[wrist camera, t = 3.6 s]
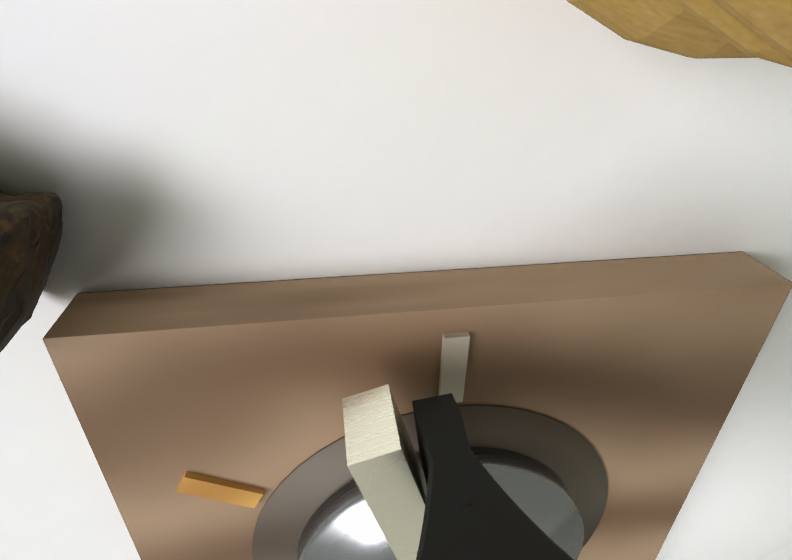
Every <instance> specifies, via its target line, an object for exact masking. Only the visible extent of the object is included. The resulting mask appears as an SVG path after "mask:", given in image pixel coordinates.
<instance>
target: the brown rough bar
mask: <svg viewBox="0 0 792 560" xmlns="http://www.w3.org/2000/svg"><path fill="white" fill-rule="evenodd" d="M61 233H62V204H61V201H60V199H59V197H58V196H57V195H56V194H54V193H51V192H34V193H28V194H24V195H20V196H16V197H14V196H10V195H6V194H4V193H3V192H2V191H1V189H0V352H1V351H2V350H3V349H4V348H5V346H6V345H7V344H8V343H9V341H10V340H11V339H12V338H13V336H14V335H15V334H16V333H17V331H18V330H19V329H20V328H21V326H22V325H23V324H24V323H26V322H27V321H28V320H29V319H30V318H31V316H32V313H33V311H34V309H35V307H36V305H37V303H38V300H39V298H40V296H41V293H42V291H43V289H44V287H45V285H46V281H47V277H48V275H49V272H50V270H51V267H52V265H53V262H54V259H55V256H56V253H57V250H58V247H59V242H60V238H61Z"/></svg>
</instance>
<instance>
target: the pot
mask: <svg viewBox="0 0 792 560" xmlns="http://www.w3.org/2000/svg"><path fill="white" fill-rule="evenodd" d="M567 1H568V2H570V3H571V4H573V5H574V6H576V7H577V8H579V9H580V10H582V11H583V12H585V13H586V14H588V15H589V16H591V17H592V18H594V19H595V20H597V21H598V22H600V23H601V24H603V25H604V26H606V27H607V28H609V29H610V30H612V31H613V32H615V33H616V34H618V35H619V36H621V37H622V38H624V39H626V40H629V41H633V42H636V43H640V44H644V45H647V46H651V47H654V48H658V49H661V50H665V51H669V52H672V53H676V54H679V55H683V56H687V57H691V58H757V57H758V58H761V59H765V60H768V61H771V62H775V63H778V64H782V65H785V66H789V67H792V0H567Z"/></svg>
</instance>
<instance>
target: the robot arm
mask: <svg viewBox="0 0 792 560" xmlns="http://www.w3.org/2000/svg"><path fill="white" fill-rule="evenodd" d="M412 405H413V412H414V419H415V425H416V432H417V438H418V445H419V452H420V457H421V462H422V466H423V471H424V476H425V480H426V485H427V494H426V504H425V511H424V518H423V524H422V530H421V536H420V542H419V547H418V552H417V557H416V560H574V559H573V558H572V557H570V556H569V555H568V554H567V553H566V552H565V551H564V550H563V549H561V548H560V547H559V546H558V545H557V544H556V543H555V542H553V541H552V540H551V539H550V538H549V537H548V536H547V535H546V534H545V533H544V532H543V531H542V530H541V529H540V528H539V527H538V526H537V525H536V524H535V523H534V522H533V521H532V520H531V519H530V518H529V517H528V516H527V515H526V514H525V513H524V512H523V511H522V510H521V509H520V508H519V507H518V506H517V504H516V503H515V502H514V501H513V500H512V499H511V498H510V497H509V496H508V495H507V493H506V492H505V491H504V490H503V489H502V488H501V487H500V485H499V484H498V483H497V482H496V481H495V479H494V478H493V477H492V476H491V475H490V473H489V472H488V471H487V470H486V468H485V467H484V466H483V465H482V463H481V462H480V461H479V459H478V458H477V457H476V455H475V454H474V453H473V452H472V450H471V449H470V447H469V443H468V439H467V435H466V431H465V427H464V423H463V419H462V415H461V413H460V411H459V408H458V406H457V404H456V401H455V399H454V397H453V395H452V393H449V394H444V395H439V396H434V397H429V398H424V399H419V400H414V401H412Z"/></svg>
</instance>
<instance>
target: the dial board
mask: <svg viewBox="0 0 792 560" xmlns="http://www.w3.org/2000/svg"><path fill="white" fill-rule="evenodd" d="M791 288H792V282H791V281H789V280H788V279H786V278H784V277H783V276H781V275H779V274H778V273H776V272H774V271H773V270H771V269H770V268H768V267H766V266H765V265H763V264H761V263H760V262H758V261H756V260H755V259H753V258H751V257H750V256H748V255H746V254H745V253H743V252H730V253H714V254H698V255H682V256H666V257H650V258H634V259H619V260H603V261H587V262H571V263H555V264H539V265H523V266H507V267H491V268H475V269H460V270H444V271H428V272H412V273H396V274H380V275H364V276H348V277H332V278H317V279H301V280H285V281H269V282H253V283H237V284H221V285H205V286H189V287H174V288H158V289H142V290H126V291H110V292H94V293H78V294H77V295H76V296H75V297H74V299H73V300H72V301H71V302H70V304H69V305H68V306H67V308H66V309H65V310H64V312H63V313H62V314H61V315H60V317H59V318H58V319H57V321H56V322H55V323H54V325H53V326H52V327H51V328H50V330H49V331H48V332H47V334H46V335H45V336H44V338H43V341H44V343H45V346H46V348H47V350H48V352H49V354H50V357H51V359H52V361H53V363H54V366H55V368H56V370H57V372H58V375H59V377H60V379H61V381H62V384H63V386H64V388H65V390H66V392H67V395H68V397H69V399H70V401H71V404H72V406H73V408H74V410H75V413H76V415H77V417H78V419H79V422H80V424H81V426H82V428H83V431H84V433H85V435H86V437H87V439H88V442H89V444H90V446H91V448H92V451H93V453H94V455H95V457H96V460H97V462H98V464H99V466H100V469H101V471H102V473H103V475H104V478H105V480H106V482H107V484H108V486H109V489H110V491H111V493H112V495H113V498H114V500H115V502H116V504H117V507H118V509H119V511H120V513H121V516H122V518H123V520H124V522H125V524H126V527H127V529H128V531H129V533H130V536H131V538H132V540H133V542H134V545H135V547H136V549H137V551H138V554H139V556H140V558H141V560H297V550H298V543H299V540H300V537H301V534H302V531H303V529H304V528H305V526H306V524H307V522H308V521H309V519H310V518H311V516H312V515H313V514H314V513H315V511H316V510H317V509H318V508H319V506H320V505H322V504H323V503H324V502H325V501H326V500H327V499H328V498H329V497H330V496H331V495H332V494H334V493H335V492H336V491H338V490H339V489H340V488H342V487H343V486H344V485H346V484H347V483H349V482H350V481H352V480H354V478H353V476H352V474H351V472H350V471H349V469H348V467H347V456H346V443H345V430H344V417H343V404H342V399H343V398H346V397H349V396H353V395H356V394H359V393H362V392H365V391H368V390H371V389H375V388H378V387H381V386H384V385H387V384H389V387H390V389H391V392H392V394H393V397H394V399H395V402H396V404H397V407H398V409H399V412H400V414H401V417H402V419H403V422H404V424H405V427H406V429H407V432H408V434H409V436H410V439H411V441H412V444H413V446H414V449H415V451H416V454H418V453H420V452H419V445H418V438H417V432H416V425H415V419H414V412H413V405H412V401H414V400H419V399H424V398H429V397H434V396H439V395H444V394H449V393H452V395H453V397H454V399H455V401H456V404H457V406H458V408H459V411H460V413H461V415H462V419H463V423H464V427H465V431H466V435H467V439H468V443H469V447H488V448H498V449H504V450H509V451H513V452H518V453H521V454H523V455H526V456H529V457H532V458H534V459H536V460H538V461H540V462H541V463H543V464H545V465H546V466H548V467H549V468H550V469H552V470H553V471H554V472H555V473H556V474H557V475H558V476H559V477H560V478H561V480H562V481H563V482H564V484H565V486H566V488H567V490H568V492H569V494H570V496H571V498H572V500H573V502H574V503H575V505H576V507H577V509H578V511H579V513H580V515H581V517H582V521H583V525H584V541H583V546H582V549H581V552H580V554H579V557H578V559H577V560H655V559H656V557H657V555H658V553H659V551H660V549H661V547H662V545H663V543H664V541H665V539H666V537H667V535H668V533H669V531H670V529H671V527H672V525H673V523H674V521H675V519H676V517H677V515H678V513H679V511H680V509H681V507H682V505H683V503H684V501H685V499H686V497H687V495H688V493H689V491H690V489H691V487H692V485H693V483H694V481H695V479H696V477H697V475H698V473H699V471H700V469H701V467H702V465H703V463H704V461H705V459H706V457H707V455H708V453H709V451H710V449H711V447H712V445H713V443H714V441H715V439H716V437H717V435H718V433H719V431H720V429H721V427H722V425H723V423H724V421H725V419H726V417H727V415H728V413H729V411H730V409H731V407H732V406H733V404H734V402H735V400H736V398H737V396H738V394H739V392H740V390H741V388H742V386H743V384H744V382H745V380H746V378H747V376H748V374H749V372H750V370H751V368H752V366H753V364H754V362H755V360H756V358H757V356H758V354H759V352H760V350H761V348H762V346H763V344H764V342H765V340H766V338H767V336H768V334H769V332H770V330H771V328H772V326H773V324H774V322H775V320H776V318H777V316H778V314H779V312H780V310H781V308H782V306H783V304H784V302H785V300H786V298H787V296H788V294H789V292H790V290H791Z"/></svg>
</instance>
